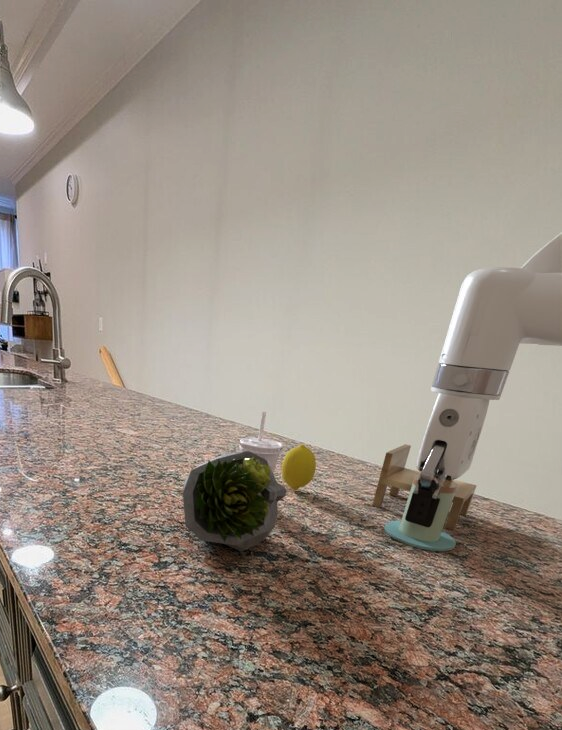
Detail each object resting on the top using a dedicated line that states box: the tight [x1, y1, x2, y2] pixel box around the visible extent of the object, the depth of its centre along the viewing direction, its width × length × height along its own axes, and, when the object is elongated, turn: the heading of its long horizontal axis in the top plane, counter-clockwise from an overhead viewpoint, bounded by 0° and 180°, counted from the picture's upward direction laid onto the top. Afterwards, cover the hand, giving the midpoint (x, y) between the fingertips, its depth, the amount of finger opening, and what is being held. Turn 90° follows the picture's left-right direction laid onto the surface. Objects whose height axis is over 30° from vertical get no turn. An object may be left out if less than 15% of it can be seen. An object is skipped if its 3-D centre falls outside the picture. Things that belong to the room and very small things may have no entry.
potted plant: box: [182, 451, 287, 553], centre depth 53 cm, size 12×13×15 cm
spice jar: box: [399, 475, 459, 542], centre depth 61 cm, size 5×5×8 cm
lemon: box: [281, 444, 317, 491], centre depth 76 cm, size 6×6×8 cm
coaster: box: [384, 520, 457, 552], centre depth 63 cm, size 9×9×1 cm
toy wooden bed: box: [371, 444, 478, 531], centre depth 71 cm, size 12×10×9 cm
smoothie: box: [238, 411, 284, 475], centre depth 67 cm, size 6×6×14 cm
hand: (424, 516), depth 62 cm, fingers open, 5 cm apart
